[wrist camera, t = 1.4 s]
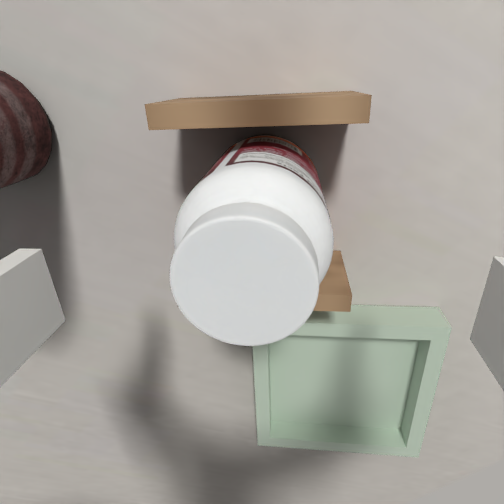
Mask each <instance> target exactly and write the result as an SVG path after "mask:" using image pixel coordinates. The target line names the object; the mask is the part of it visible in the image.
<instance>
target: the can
mask: <svg viewBox="0 0 504 504" xmlns="http://www.w3.org/2000/svg"><path fill="white" fill-rule="evenodd" d="M51 147H52V131H51V128H50V124H49V121H48V117H47V115H46V113H45V111H44V110H43V108H42V106H41V104H40V103H39V101H38V100H37V99H36V98H35V97H34V96H33V94H32V93H31V92H30V91H29V90H28V89H27V88H26V87H25V86H24V85H23V84H22V83H21V82H19V81H18V80H16V79H15V78H13V77H12V76H10V75H9V74H7V73H6V72H3V71H0V188H3V187H6V186H8V185H11V184H14V183H16V182H19V181H22V180H24V179H27V178H29V177H31V176H34V175H36V174H38V173H39V172H40V170H41V169H42V168H43V167H44V166H45V165H46V163H47V161H48V158H49V155H50V152H51Z"/></svg>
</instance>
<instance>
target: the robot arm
mask: <svg viewBox="0 0 504 504" xmlns="http://www.w3.org/2000/svg"><path fill="white" fill-rule="evenodd" d="M64 322H65V317H64V314H63V311H62V308H61V305H60V302H59V299H58V296H57V293H56V290H55V287H54V284H53V281H52V278H51V276H50V273H49V270H48V267H47V264H46V261H45V258H44V255H43V252H42V249H18V250H16V251H15V252H13V253H11V254H10V255H8V256H6V257H5V258H3V259H1V260H0V387H1V386H2V385H3V384H4V383H5V382H6V381H7V380H8V379H9V378H10V377H11V376H12V375H13V374H14V373H15V372H16V371H17V370H18V369H19V368H20V367H21V366H22V365H23V364H24V363H25V362H26V361H27V359H28V358H29V357H30V356H31V355H32V354H33V353H34V352H35V351H36V350H37V349H38V348H39V347H40V346H41V345H42V344H43V343H44V342H45V341H46V340H47V339H48V338H49V337H50V336H51V335H52V334H53V333H54V332H55V331H56V330H57V329H58V328H59V327H60V326H61V325H62V324H63V323H64ZM470 340H471V341H472V343H473V344H474V346H475V348H476V349H477V351H478V352H479V354H480V355H481V357H482V358H483V360H484V361H485V363H486V364H487V366H488V368H489V369H490V371H491V372H492V374H493V375H494V377H495V378H496V380H497V381H498V383H499V385H500V386H501V388H502V389H503V391H504V257H493V261H492V264H491V268H490V271H489V275H488V278H487V281H486V285H485V288H484V292H483V295H482V299H481V302H480V306H479V309H478V313H477V316H476V319H475V323H474V326H473V330H472V333H471V337H470Z"/></svg>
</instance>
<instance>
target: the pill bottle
mask: <svg viewBox="0 0 504 504" xmlns="http://www.w3.org/2000/svg"><path fill="white" fill-rule="evenodd" d="M333 245H334V238H333V230H332V225H331V220H330V216H329V213H328V209H327V206H326V202H325V198H324V195H323V192H322V188H321V185H320V181H319V177H318V174H317V171H316V169H315V167H314V165H313V163H312V161H311V160H310V158H309V157H308V156H307V154H306V153H305V152H304V151H303V150H302V149H301V148H299V147H298V146H297V145H295V144H294V143H292V142H290V141H288V140H286V139H283V138H280V137H276V136H269V135H262V136H254V137H250V138H247V139H245V140H242V141H240V142H238V143H237V144H235V145H233V146H232V147H231V148H229V149H228V150H227V151H226V152H225V153H224V154H223V155H222V157H221V158H220V159H219V160H218V161H217V162H216V163H215V164H214V166H213V167H212V168H211V169H210V170H209V171H208V172H207V174H206V175H205V176H204V177H203V178H202V179H201V180H200V181H199V182H198V183H197V184H196V186H195V187H194V188H193V189H192V190H191V192H190V193H189V195H188V196H187V197H186V199H185V201H184V202H183V204H182V206H181V208H180V210H179V212H178V215H177V219H176V222H175V228H174V249H175V252H174V254H173V257H172V261H171V265H170V287H171V291H172V294H173V297H174V299H175V302H176V304H177V305H178V307H179V309H180V310H181V312H182V313H183V314H184V316H185V317H186V318H187V319H188V320H189V321H190V322H191V323H192V324H193V325H194V326H195V327H197V328H198V329H199V330H200V331H202V332H203V333H205V334H207V335H209V336H211V337H213V338H215V339H217V340H219V341H222V342H225V343H229V344H234V345H241V346H259V345H265V344H270V343H273V342H276V341H279V340H282V339H284V338H286V337H288V336H289V335H291V334H292V333H294V332H295V331H297V330H298V329H299V328H300V327H301V326H302V325H303V324H304V323H305V322H306V321H307V319H308V318H309V317H310V315H311V314H312V312H313V309H314V307H315V305H316V302H317V299H318V294H319V284H320V283H321V282H322V280H323V279H324V277H325V275H326V273H327V271H328V269H329V266H330V263H331V260H332V255H333Z"/></svg>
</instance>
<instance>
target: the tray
mask: <svg viewBox="0 0 504 504" xmlns="http://www.w3.org/2000/svg"><path fill="white" fill-rule="evenodd" d="M451 329H452V328H451V326H450V324H449V323H448V321H447V320H446V318H445V316H444V315H443V313H442V312H441V310H440V308H439V307H408V306H371V305H351V311H350V312H336V311H313V312H312V314H311V315H310V317H309V318H308V319H307V321H306V322H305V323H304V324H303V325H302V326H301V327H300V328H299V329H298V330H297V331H295V332H294V333H292V334H291V335H289V336H288V337H286V338H284V339H282V340H279V341H276V342H273V343H270V344H265V345H259V346H252V347H253V366H254V384H255V403H256V422H257V441H258V446H271V447H285V448H298V449H312V450H325V451H338V452H352V453H365V454H379V455H392V456H405V457H419V453H420V449H421V445H422V441H423V437H424V433H425V430H426V426H427V422H428V418H429V414H430V410H431V406H432V402H433V399H434V395H435V391H436V387H437V383H438V379H439V375H440V371H441V367H442V364H443V360H444V356H445V352H446V348H447V344H448V340H449V336H450V332H451Z"/></svg>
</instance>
